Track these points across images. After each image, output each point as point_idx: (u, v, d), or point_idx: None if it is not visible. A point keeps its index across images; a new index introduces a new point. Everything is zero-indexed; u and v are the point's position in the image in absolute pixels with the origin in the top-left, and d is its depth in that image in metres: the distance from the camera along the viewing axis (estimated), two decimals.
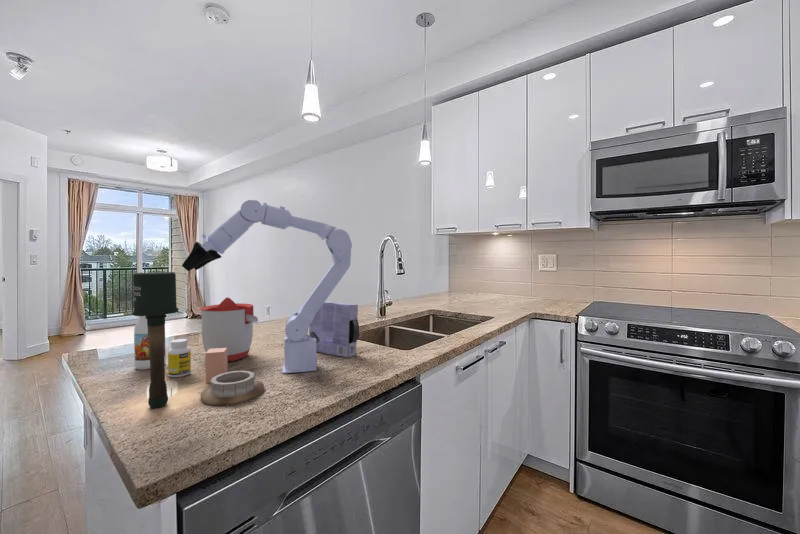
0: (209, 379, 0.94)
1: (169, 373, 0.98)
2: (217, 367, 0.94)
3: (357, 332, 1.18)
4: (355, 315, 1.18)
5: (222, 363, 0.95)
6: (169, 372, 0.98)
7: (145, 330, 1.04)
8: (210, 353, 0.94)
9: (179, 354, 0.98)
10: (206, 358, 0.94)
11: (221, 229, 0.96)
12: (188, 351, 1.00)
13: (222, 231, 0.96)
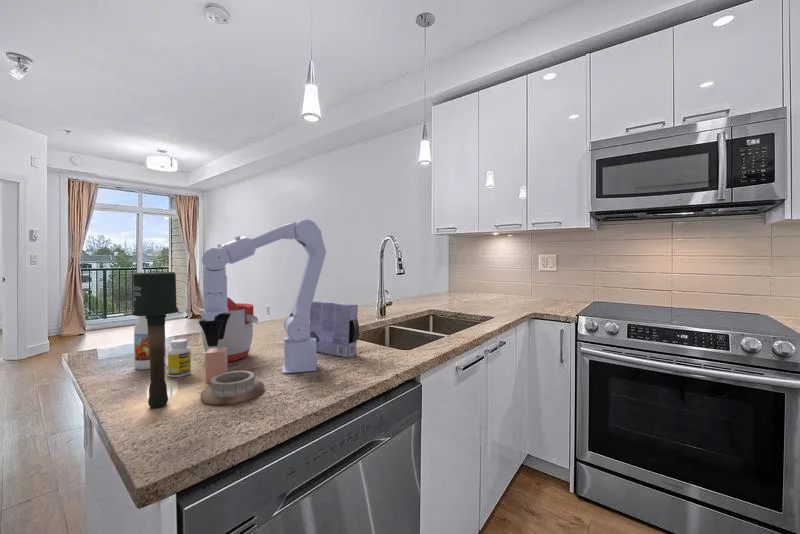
0: (209, 379, 0.94)
1: (169, 373, 0.98)
2: (217, 367, 0.94)
3: (357, 332, 1.18)
4: (355, 315, 1.18)
5: (222, 363, 0.95)
6: (169, 372, 0.98)
7: (145, 330, 1.04)
8: (210, 353, 0.94)
9: (179, 354, 0.98)
10: (206, 358, 0.94)
11: (207, 294, 0.93)
12: (188, 351, 1.00)
13: (209, 295, 0.93)
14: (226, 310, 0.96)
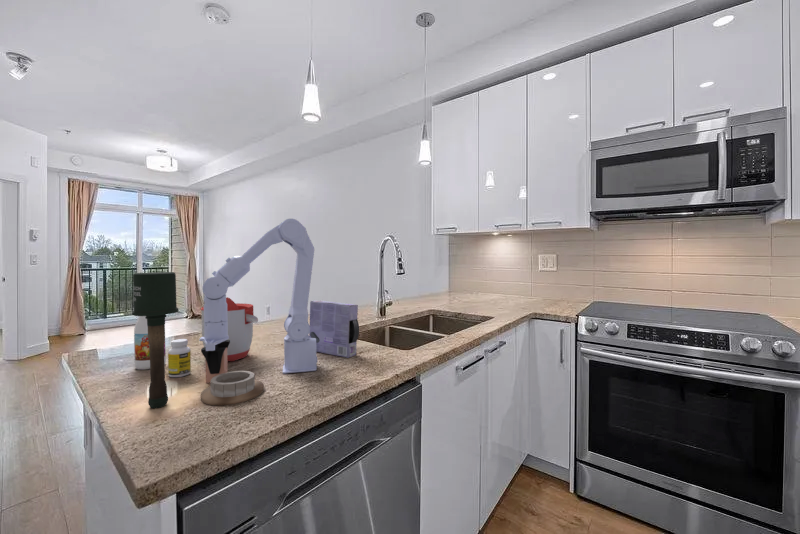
0: (209, 379, 0.94)
1: (169, 373, 0.98)
2: None
3: (357, 332, 1.18)
4: (355, 315, 1.18)
5: (222, 363, 0.95)
6: (169, 372, 0.98)
7: (145, 330, 1.04)
8: None
9: (179, 354, 0.98)
10: None
11: (207, 323, 0.93)
12: (188, 351, 1.00)
13: (210, 324, 0.93)
14: (227, 338, 0.96)
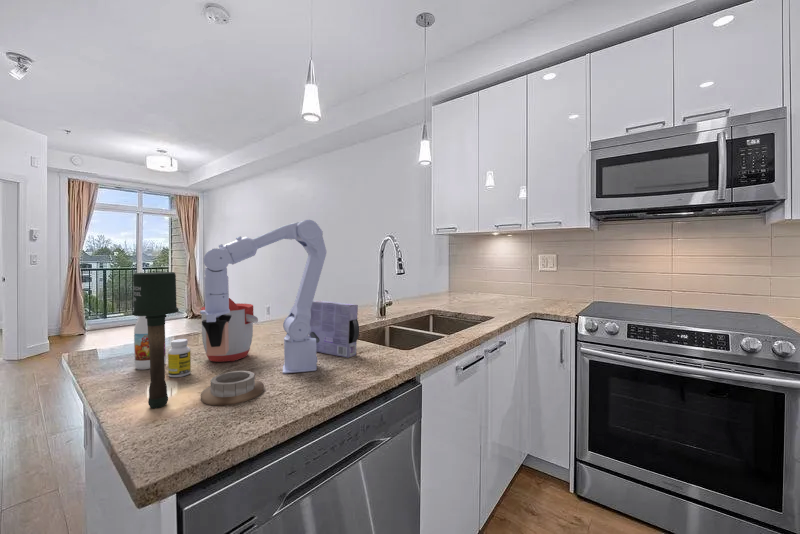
0: (210, 352, 0.93)
1: (169, 373, 0.98)
2: None
3: (357, 332, 1.18)
4: (355, 315, 1.18)
5: (223, 336, 0.93)
6: (169, 372, 0.98)
7: (145, 330, 1.04)
8: None
9: (179, 354, 0.98)
10: None
11: (208, 295, 0.92)
12: (188, 351, 1.00)
13: (210, 296, 0.92)
14: (228, 311, 0.95)
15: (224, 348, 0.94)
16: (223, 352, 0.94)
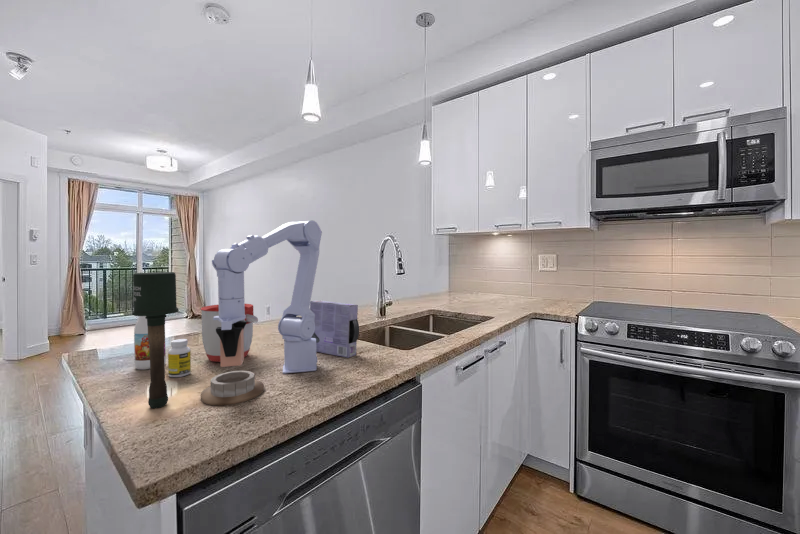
0: (224, 363, 0.84)
1: (169, 373, 0.98)
2: None
3: (357, 332, 1.18)
4: (355, 315, 1.18)
5: (238, 345, 0.84)
6: (169, 372, 0.98)
7: (145, 330, 1.04)
8: None
9: (179, 354, 0.98)
10: None
11: (222, 300, 0.83)
12: (188, 351, 1.00)
13: (225, 301, 0.83)
14: (244, 317, 0.86)
15: (240, 358, 0.85)
16: (239, 362, 0.85)
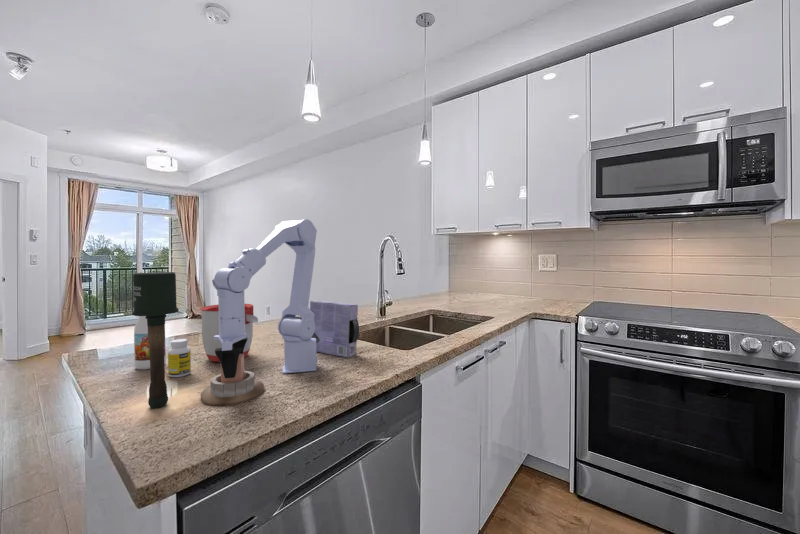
0: None
1: (169, 373, 0.98)
2: None
3: (357, 332, 1.18)
4: (355, 315, 1.18)
5: (239, 371, 0.85)
6: (169, 372, 0.98)
7: (145, 330, 1.04)
8: None
9: (179, 354, 0.98)
10: (221, 366, 0.84)
11: (223, 320, 0.83)
12: (188, 351, 1.00)
13: (225, 320, 0.83)
14: (244, 336, 0.86)
15: None
16: None
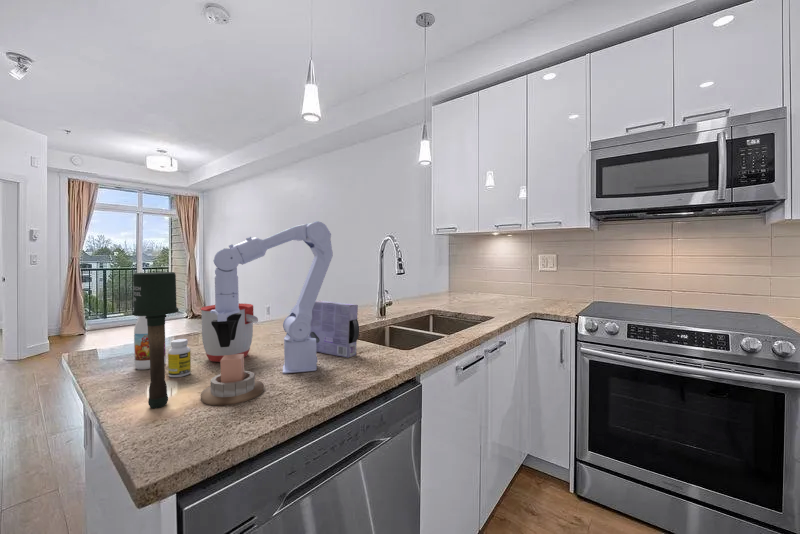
0: None
1: (169, 373, 0.98)
2: (233, 376, 0.84)
3: (357, 332, 1.18)
4: (355, 315, 1.18)
5: (239, 371, 0.85)
6: (169, 372, 0.98)
7: (145, 330, 1.04)
8: (226, 360, 0.84)
9: (179, 354, 0.98)
10: (221, 366, 0.84)
11: (218, 295, 0.93)
12: (188, 351, 1.00)
13: (221, 296, 0.93)
14: (238, 310, 0.95)
15: None
16: None
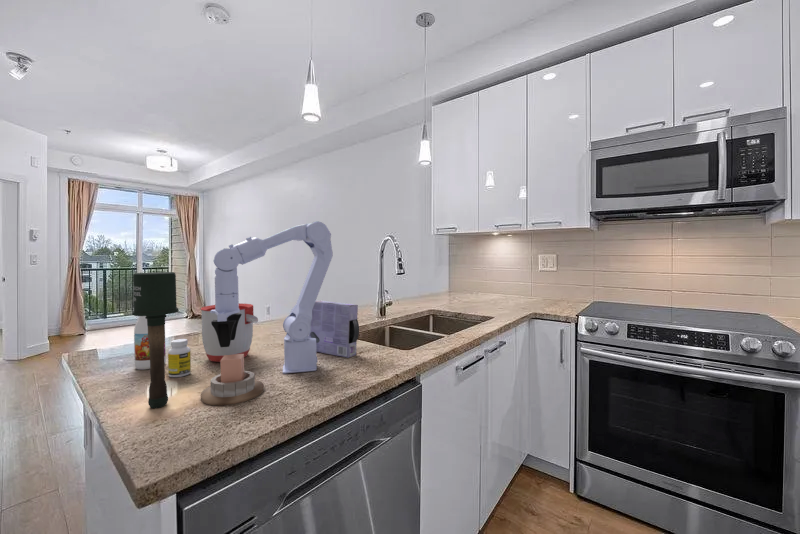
0: None
1: (169, 373, 0.98)
2: (233, 376, 0.84)
3: (357, 332, 1.18)
4: (355, 315, 1.18)
5: (239, 371, 0.85)
6: (169, 372, 0.98)
7: (145, 330, 1.04)
8: (226, 360, 0.84)
9: (179, 354, 0.98)
10: (221, 366, 0.84)
11: (218, 295, 0.93)
12: (188, 351, 1.00)
13: (221, 296, 0.93)
14: (238, 310, 0.95)
15: None
16: None
